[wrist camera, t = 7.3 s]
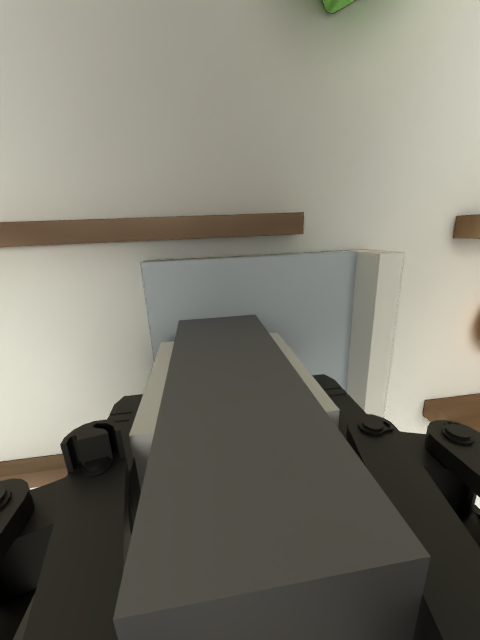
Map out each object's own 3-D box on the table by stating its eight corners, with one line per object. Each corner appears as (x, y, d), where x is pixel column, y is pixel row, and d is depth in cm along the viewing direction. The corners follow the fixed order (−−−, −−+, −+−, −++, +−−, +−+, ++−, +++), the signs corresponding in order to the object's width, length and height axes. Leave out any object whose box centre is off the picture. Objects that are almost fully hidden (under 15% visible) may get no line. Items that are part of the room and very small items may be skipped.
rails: (-94, 227, 13) (-123, 226, 12) (295, 214, 15) (303, 212, 14) (-4, 476, 17) (-19, 494, 16) (292, 437, 19) (298, 450, 18)
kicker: (144, 260, 15) (-159, 407, 2) (367, 249, 16) (936, 297, 4) (166, 427, 17) (91, 891, 5) (354, 404, 19) (645, 720, 7)
